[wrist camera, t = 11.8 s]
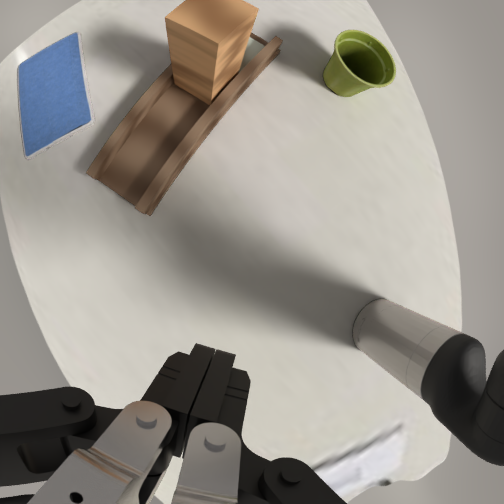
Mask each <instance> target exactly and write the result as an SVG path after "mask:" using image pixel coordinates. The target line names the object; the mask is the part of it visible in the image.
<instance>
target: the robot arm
mask: <svg viewBox="0 0 504 504" xmlns="http://www.w3.org/2000/svg"><path fill="white" fill-rule="evenodd" d="M353 340H354V343H355V345H356V346H357V347H358V348H359V349H360V350H361V351H362V352H363V353H365V354H366V355H367V356H368V357H370V358H371V359H372V360H373V361H375V362H376V363H377V364H378V365H380V366H381V367H382V368H383V369H385V370H386V371H387V372H388V373H390V374H391V375H392V376H393V377H395V378H396V379H397V380H399V381H400V382H401V383H402V384H404V385H405V386H406V387H407V388H409V389H410V390H411V391H413V392H414V393H415V394H416V395H418V396H419V397H420V398H421V399H423V400H424V401H425V402H426V403H428V404H429V405H430V407H431V409H432V412H433V414H434V416H435V417H436V418H437V419H438V420H439V421H440V422H441V423H442V424H443V425H444V426H445V427H446V428H447V429H448V430H449V431H450V432H452V433H453V434H454V435H455V436H456V437H457V438H458V439H459V440H460V441H461V442H462V443H463V444H464V445H465V446H466V447H467V448H469V449H470V450H471V451H472V452H473V453H474V454H476V455H477V456H478V457H480V458H481V459H483V460H485V461H487V462H489V463H492V464H495V465H499V466H504V350H503V351H502V352H501V353H500V354H499V355H498V357H497V358H496V361H495V363H494V365H493V367H492V370H491V372H490V375H489V377H488V380H487V381H486V359H485V351H484V348H483V346H482V344H481V343H480V342H479V341H478V340H477V339H475V338H473V337H470V336H468V335H466V334H464V333H462V332H459V331H457V330H455V329H453V328H450V327H448V326H446V325H443V324H441V323H439V322H437V321H434V320H432V319H430V318H428V317H425V316H423V315H421V314H418V313H416V312H414V311H412V310H409V309H407V308H405V307H403V306H401V305H398V304H396V303H393V302H391V301H389V300H386V299H378V300H375V301H372V302H371V303H369V304H368V305H366V306H365V307H364V308H363V309H362V310H361V312H360V313H359V315H358V316H357V318H356V320H355V323H354V327H353ZM214 354H215V355H214ZM235 356H236V355H235V354H232V353H228V352H224V351H221V350H216V352H215V349H214V348H210V347H207V346H204V345H200V344H197V343H196V344H195V346H194V348H193V349H192V351H191V353H190V355H188V354H185V353H182V352H177V353H175V354H173V355H171V356H170V357H168V359H167V360H166V362H165V363H164V365H163V367H162V368H161V369H160V371H159V372H158V374H157V375H156V377H155V379H154V380H153V382H152V383H151V385H150V386H149V388H148V389H147V391H146V393H145V394H144V396H143V397H142V399H141V400H140V401H136V402H132V403H130V404H128V405H127V406H126V407H125V408H124V409H111V408H106V407H101V406H96V405H95V403H94V400H93V398H92V397H91V396H90V394H88V393H87V392H86V391H84V390H82V389H80V388H76V387H62V388H56V389H49V390H42V391H35V392H27V393H19V394H10V395H0V486H11V485H20V484H28V483H34V482H40V481H46V480H47V482H46V483H45V484H44V485H43V486H42V487H41V488H40V489H39V491H38V492H37V493H36V494H31V495H19V496H13V497H6V498H0V504H149V503H150V501H151V499H152V497H153V496H154V494H155V492H156V490H157V488H158V486H159V485H160V483H161V481H162V479H163V477H164V475H165V473H166V469H167V468H168V466H169V463H170V461H171V459H172V456H176V457H181V454H182V452H183V457H182V458H183V463H182V467H181V471H180V475H179V479H178V483H177V487H176V490H175V492H174V495H173V499H172V502H171V504H347V503H346V502H345V501H344V500H342V499H341V498H340V497H339V496H338V495H337V494H336V493H335V492H334V491H333V490H332V489H331V488H330V487H329V486H328V485H327V484H326V483H325V482H324V481H323V480H322V479H321V478H320V477H319V476H318V475H317V474H316V473H315V472H314V471H313V470H312V469H311V468H310V467H309V466H308V465H307V464H305V463H304V462H302V461H300V460H297V459H294V458H278V459H275V460H273V461H269V460H267V459H265V458H262V457H260V456H258V455H256V454H255V453H253V452H252V451H250V450H249V449H248V448H247V446H246V445H245V444H244V442H243V440H242V435H241V433H242V426H243V421H244V416H245V410H246V405H247V399H248V394H249V388H250V382H251V381H250V379H249V376H248V374H247V371H243V370H240V369H236V368H232V367H233V363H234V360H235ZM183 449H184V451H183ZM81 502H82V503H81Z"/></svg>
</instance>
